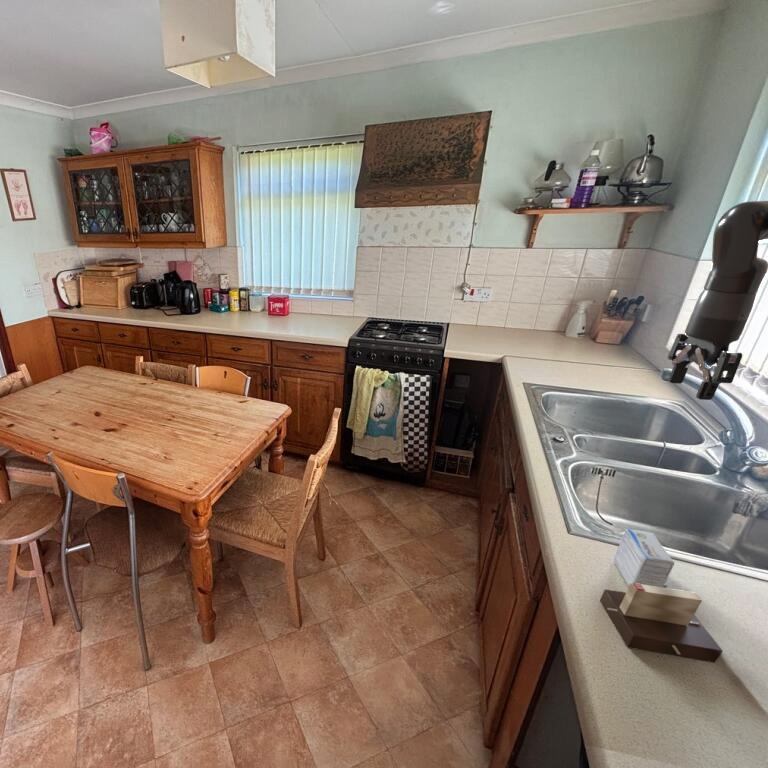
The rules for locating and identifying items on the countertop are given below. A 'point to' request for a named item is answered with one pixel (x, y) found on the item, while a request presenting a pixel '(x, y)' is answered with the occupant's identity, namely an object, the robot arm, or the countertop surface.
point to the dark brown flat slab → (661, 633)
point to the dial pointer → (660, 604)
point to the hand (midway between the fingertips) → (688, 390)
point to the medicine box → (642, 559)
